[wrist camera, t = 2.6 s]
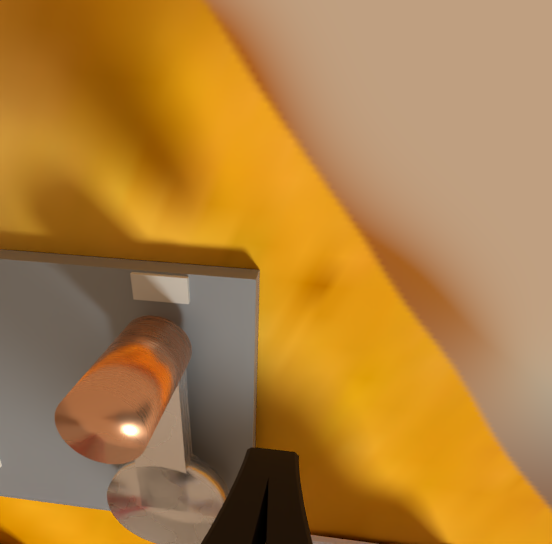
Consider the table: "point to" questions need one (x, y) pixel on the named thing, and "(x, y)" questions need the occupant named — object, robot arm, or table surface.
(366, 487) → the table surface
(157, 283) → the base plate
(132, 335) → the crank handle
